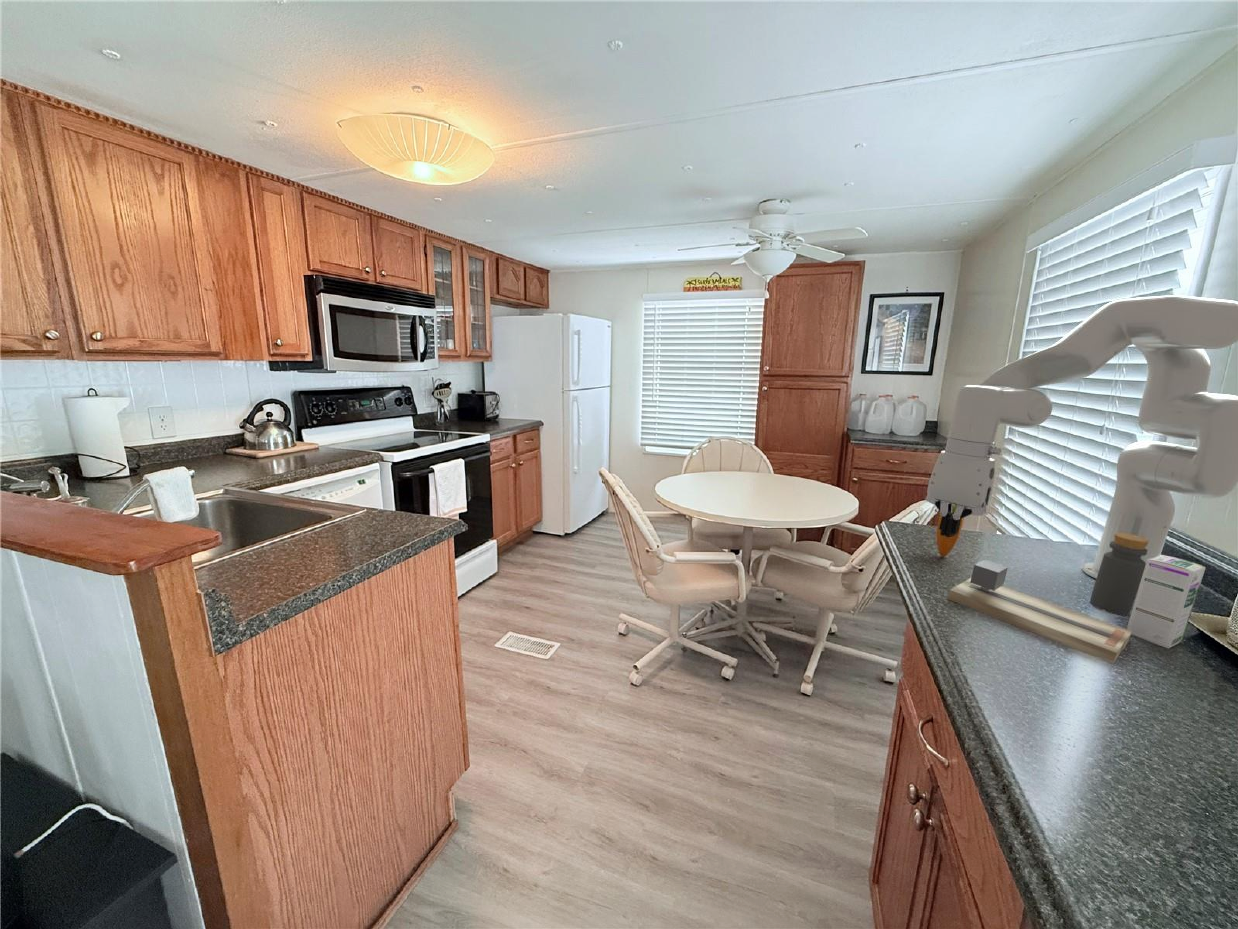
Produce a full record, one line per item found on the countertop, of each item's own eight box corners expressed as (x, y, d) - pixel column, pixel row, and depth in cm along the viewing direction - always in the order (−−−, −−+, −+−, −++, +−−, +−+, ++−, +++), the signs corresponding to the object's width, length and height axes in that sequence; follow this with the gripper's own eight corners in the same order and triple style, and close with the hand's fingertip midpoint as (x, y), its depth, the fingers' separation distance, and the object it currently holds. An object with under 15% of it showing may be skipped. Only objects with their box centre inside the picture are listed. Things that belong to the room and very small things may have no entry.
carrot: (933, 558, 117) (946, 498, 114) (929, 551, 122) (941, 493, 118) (957, 563, 115) (971, 502, 112) (952, 555, 120) (965, 496, 116)
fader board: (971, 584, 104) (974, 575, 104) (1129, 641, 86) (1132, 630, 85) (947, 598, 98) (949, 589, 97) (1112, 663, 79) (1116, 652, 78)
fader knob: (978, 582, 100) (984, 559, 99) (1002, 590, 97) (1008, 567, 96) (968, 587, 97) (974, 564, 96) (992, 596, 94) (998, 572, 93)
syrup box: (1169, 650, 84) (1197, 571, 80) (1123, 631, 89) (1147, 557, 85) (1181, 642, 86) (1209, 566, 83) (1135, 625, 91) (1159, 552, 88)
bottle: (1138, 617, 94) (1162, 544, 91) (1103, 612, 95) (1125, 540, 92) (1115, 602, 100) (1137, 533, 96) (1082, 598, 101) (1102, 529, 97)
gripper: (1020, 455, 94) (996, 545, 98) (935, 440, 105) (917, 521, 109) (1006, 458, 89) (982, 552, 93) (919, 442, 101) (901, 526, 105)
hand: (947, 535), depth 101 cm, fingers closed
